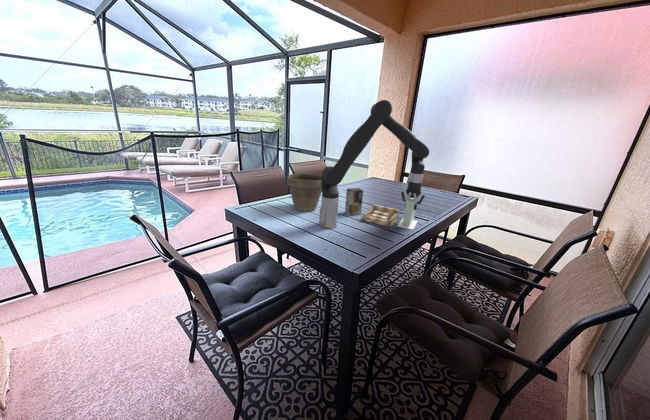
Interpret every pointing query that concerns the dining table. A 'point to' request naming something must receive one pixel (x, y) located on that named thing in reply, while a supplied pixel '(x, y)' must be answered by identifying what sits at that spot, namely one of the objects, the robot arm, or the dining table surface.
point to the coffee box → (354, 201)
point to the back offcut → (381, 214)
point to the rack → (392, 215)
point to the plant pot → (305, 190)
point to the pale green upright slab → (409, 211)
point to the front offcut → (379, 216)
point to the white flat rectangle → (408, 225)
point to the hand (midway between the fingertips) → (410, 209)
